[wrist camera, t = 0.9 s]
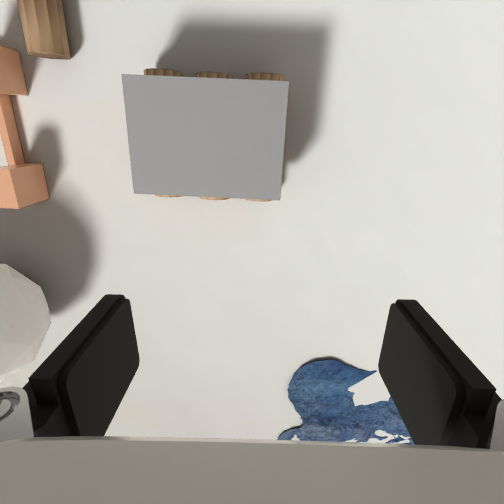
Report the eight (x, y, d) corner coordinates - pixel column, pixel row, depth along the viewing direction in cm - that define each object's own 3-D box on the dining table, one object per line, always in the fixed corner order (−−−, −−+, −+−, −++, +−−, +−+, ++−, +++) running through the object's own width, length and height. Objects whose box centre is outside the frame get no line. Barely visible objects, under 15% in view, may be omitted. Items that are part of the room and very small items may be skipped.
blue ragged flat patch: (435, 487, 55) (437, 492, 55) (274, 475, 55) (275, 480, 54) (490, 371, 45) (494, 375, 45) (294, 356, 45) (295, 360, 44)
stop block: (-9, 50, 31) (-56, 36, 26) (18, 51, 31) (-24, 38, 26) (26, 197, 37) (-8, 207, 32) (49, 198, 37) (19, 208, 32)
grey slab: (137, 80, 29) (121, 74, 26) (285, 86, 29) (289, 81, 25) (146, 186, 33) (133, 193, 29) (278, 193, 32) (280, 200, 29)
